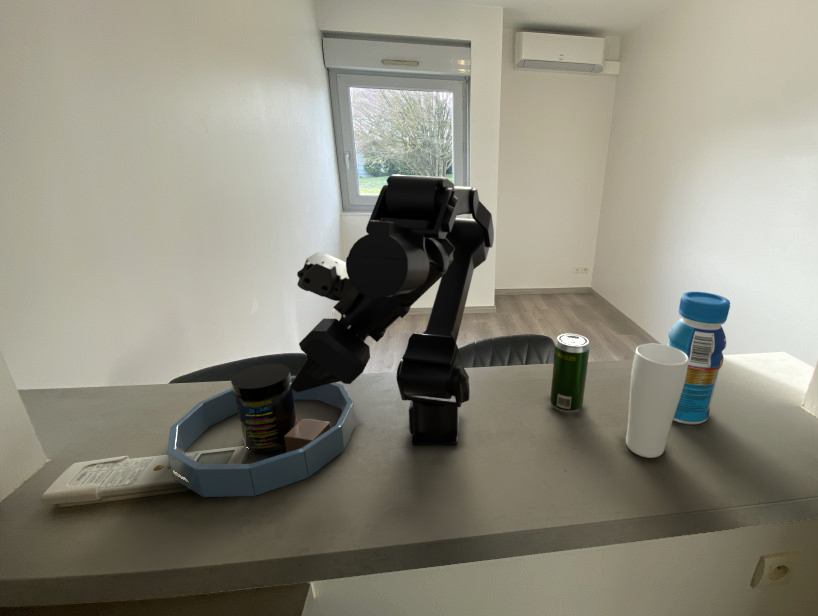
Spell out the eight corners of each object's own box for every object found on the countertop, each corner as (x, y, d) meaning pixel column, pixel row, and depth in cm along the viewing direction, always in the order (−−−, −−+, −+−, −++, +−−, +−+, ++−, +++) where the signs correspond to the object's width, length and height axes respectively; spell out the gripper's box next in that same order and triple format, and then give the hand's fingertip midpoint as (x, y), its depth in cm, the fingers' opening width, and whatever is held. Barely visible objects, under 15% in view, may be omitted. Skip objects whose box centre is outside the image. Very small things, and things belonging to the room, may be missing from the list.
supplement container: (304, 446, 56) (294, 379, 53) (247, 464, 52) (232, 394, 49) (295, 422, 61) (285, 359, 58) (243, 436, 58) (229, 370, 54)
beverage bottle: (643, 407, 69) (664, 294, 62) (671, 392, 73) (693, 286, 67) (691, 433, 62) (720, 310, 55) (718, 415, 67) (748, 300, 60)
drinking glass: (634, 427, 63) (649, 338, 58) (677, 448, 59) (698, 354, 54) (611, 446, 59) (625, 351, 54) (655, 471, 54) (676, 370, 49)
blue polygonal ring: (368, 396, 68) (366, 375, 67) (324, 494, 48) (320, 467, 47) (233, 397, 67) (229, 375, 65) (130, 498, 47) (120, 470, 45)
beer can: (582, 416, 65) (590, 348, 61) (548, 412, 66) (554, 344, 62) (582, 399, 70) (590, 335, 66) (551, 395, 71) (556, 331, 67)
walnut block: (333, 446, 56) (330, 421, 55) (316, 466, 53) (312, 440, 51) (306, 442, 57) (302, 418, 56) (288, 461, 53) (283, 436, 52)
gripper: (363, 219, 52) (286, 299, 55) (309, 246, 35) (201, 362, 38) (427, 279, 56) (351, 352, 59) (406, 332, 38) (300, 432, 41)
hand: (309, 369), depth 49 cm, fingers open, 9 cm apart
